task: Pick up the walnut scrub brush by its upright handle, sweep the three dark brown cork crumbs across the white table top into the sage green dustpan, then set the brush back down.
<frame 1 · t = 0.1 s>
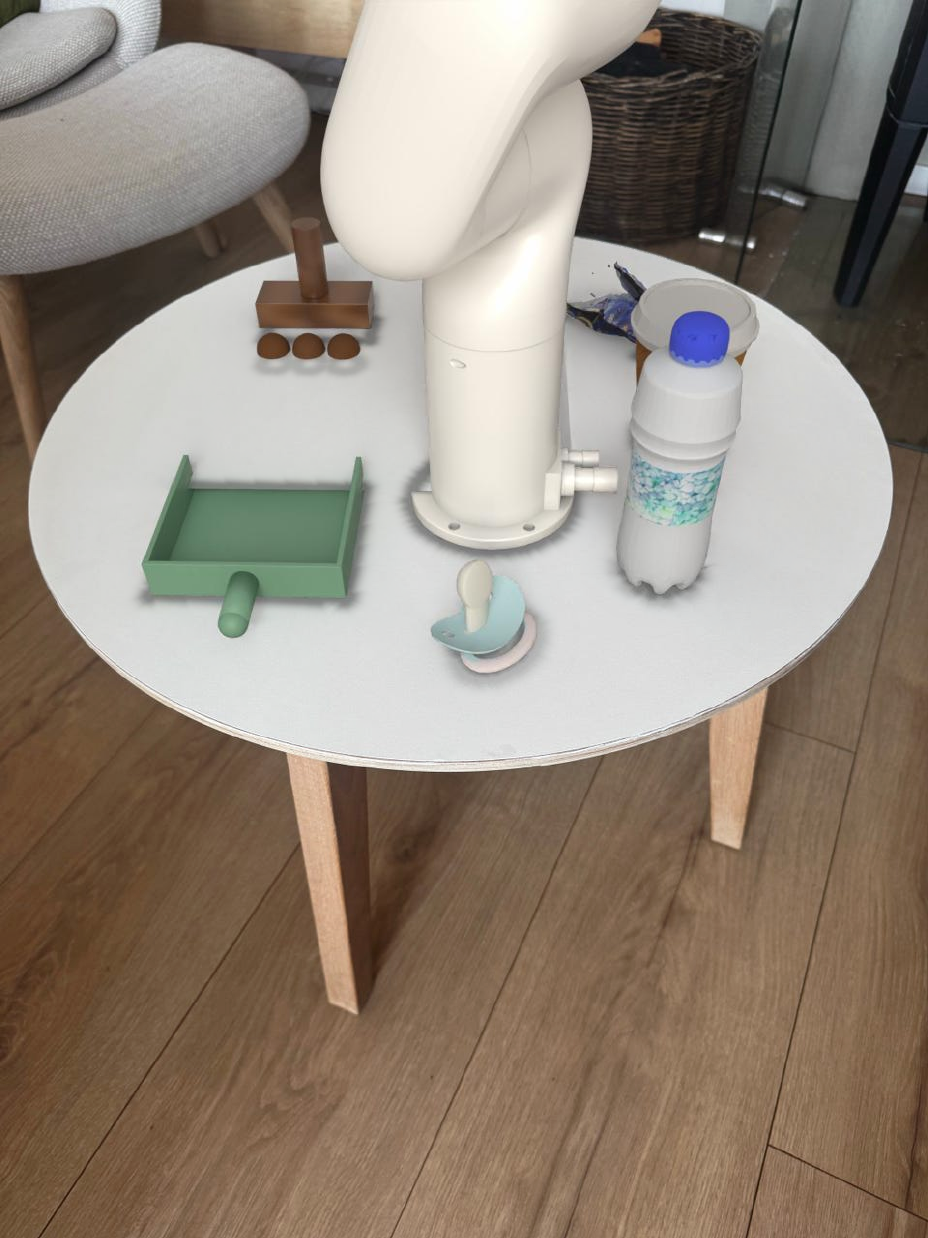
disposable coffee cup: (674, 440, 82), on the table
brush: (319, 330, 95), on the table
dustpan: (264, 538, 74), on the table
crumb a: (343, 350, 90), point 1 cm above the table
crumb c: (273, 349, 90), point 1 cm above the table
crumb b: (308, 349, 90), point 1 cm above the table
pacifier: (488, 641, 67), on the table
snack package: (611, 328, 95), on the table
bottle: (657, 573, 71), on the table
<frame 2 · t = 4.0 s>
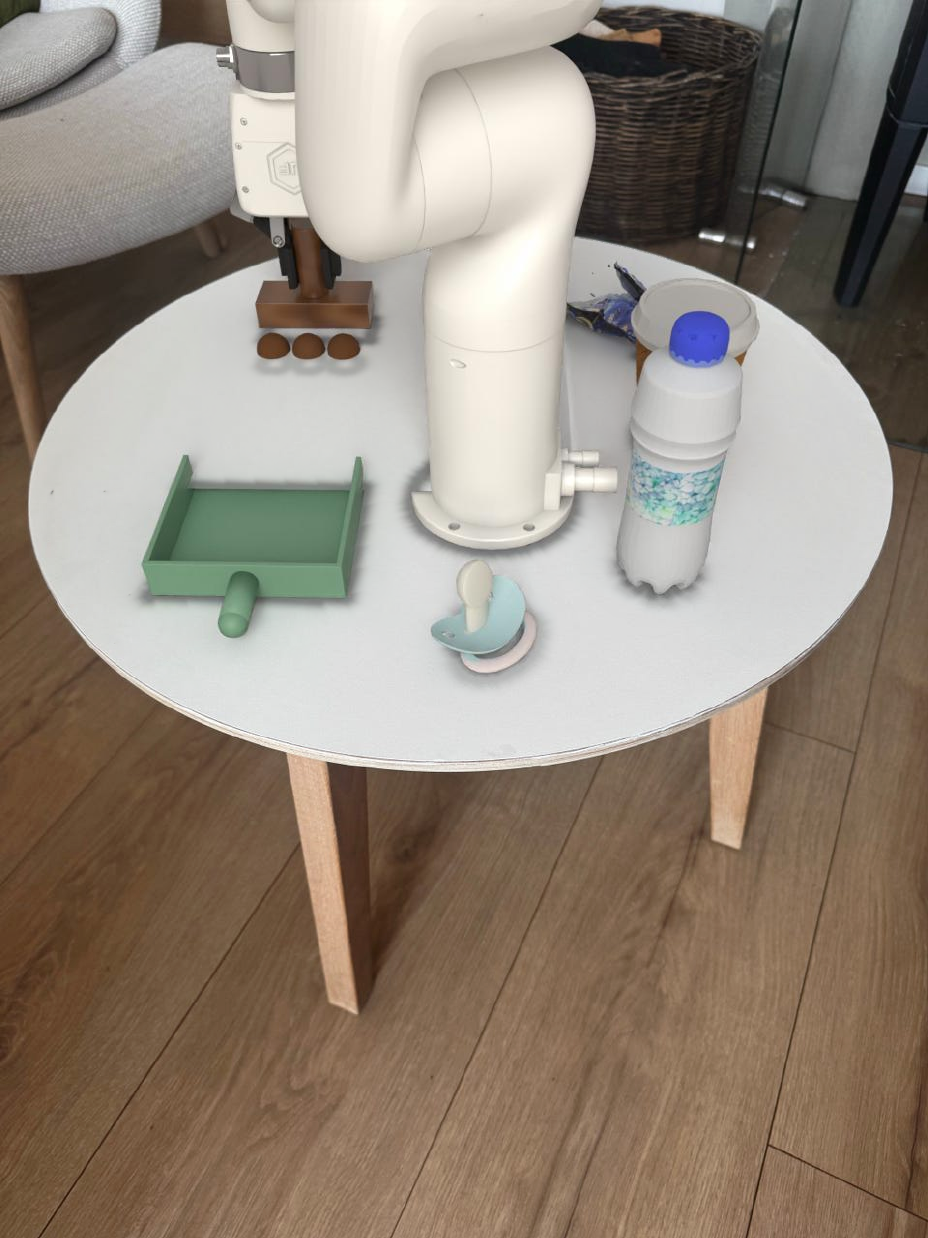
hand: (313, 280, 91), 5 cm above the table, tool pointing down, fingers closed on brush, 2 cm apart
brush: (319, 330, 95), on the table, touching gripper
everything else where it was.
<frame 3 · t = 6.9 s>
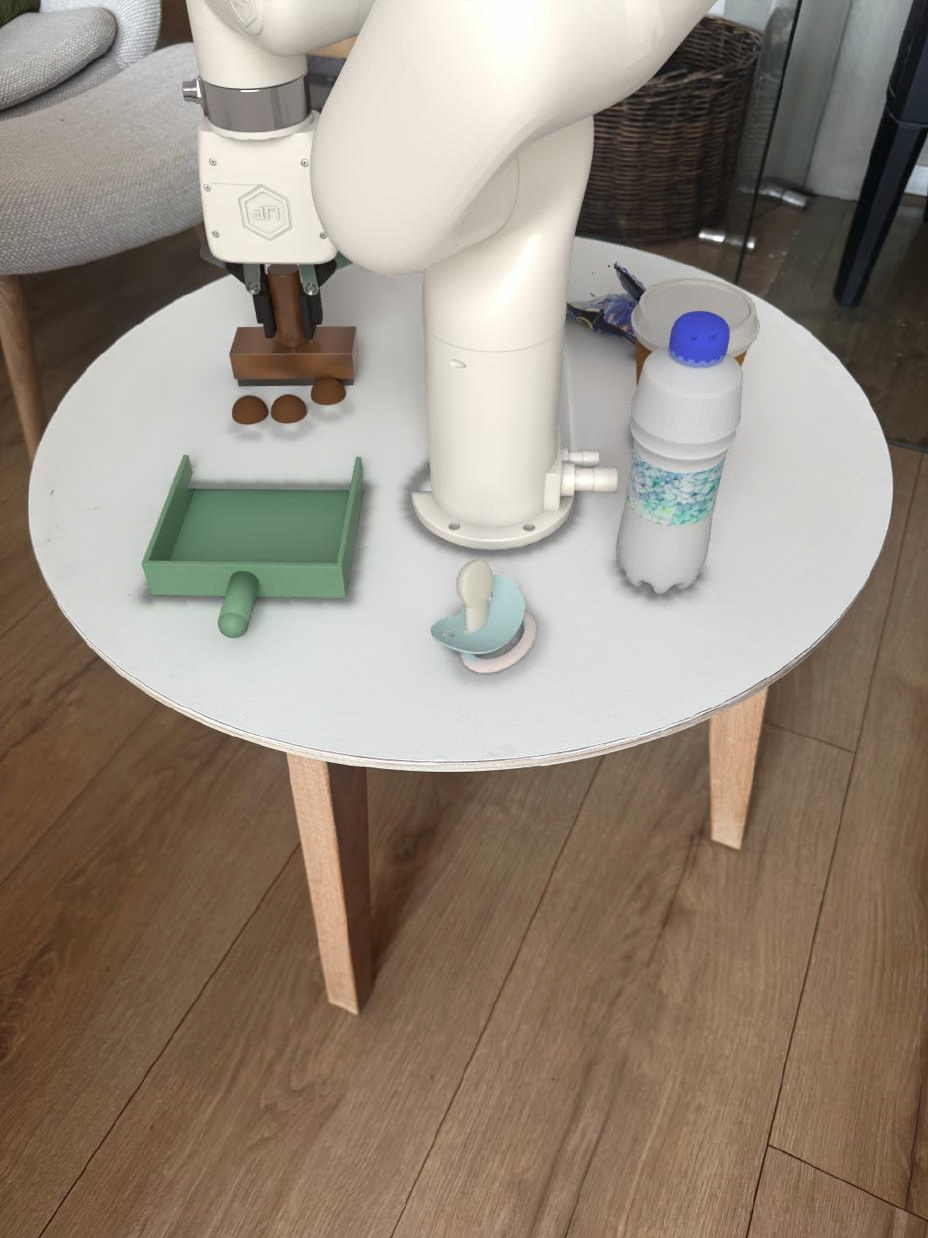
hand: (291, 328, 84), 6 cm above the table, tool pointing down, fingers closed on brush, 2 cm apart
brush: (299, 379, 88), point 1 cm above the table, touching crumb a, gripper
crumb a: (328, 395, 85), point 1 cm above the table, tilted 164°, touching brush
crumb c: (250, 413, 83), point 1 cm above the table, tilted 25°
crumb b: (289, 412, 83), point 1 cm above the table, tilted 9°
everything else where it was.
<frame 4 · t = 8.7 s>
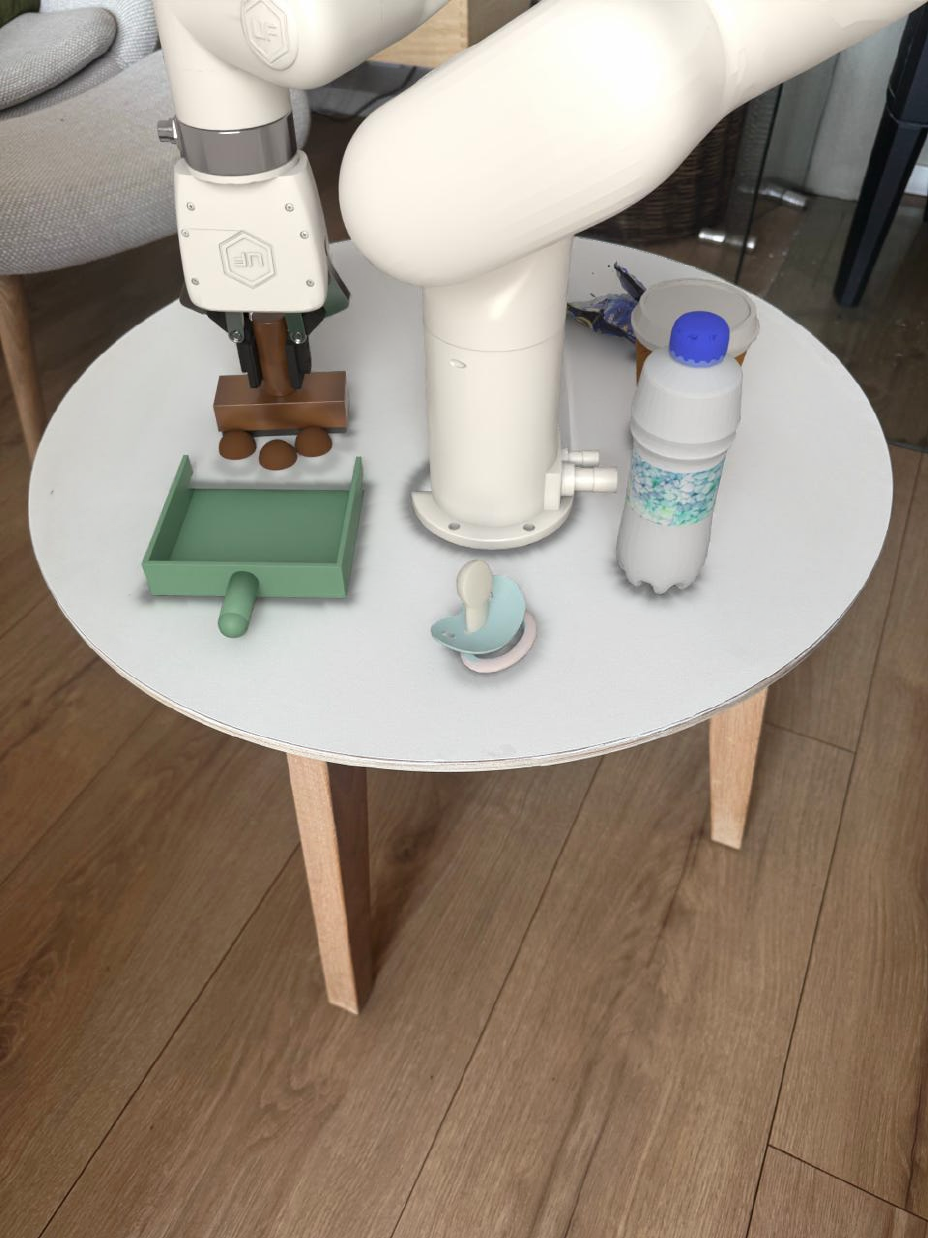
hand: (278, 377, 79), 6 cm above the table, tool pointing down, fingers closed on brush, 2 cm apart
brush: (287, 428, 83), point 1 cm above the table, touching crumb c, gripper
crumb a: (313, 445, 80), point 1 cm above the table, tilted 27°
crumb c: (237, 448, 80), point 1 cm above the table, tilted 151°, touching brush
crumb b: (278, 458, 79), point 1 cm above the table, tilted 128°
everything else where it was.
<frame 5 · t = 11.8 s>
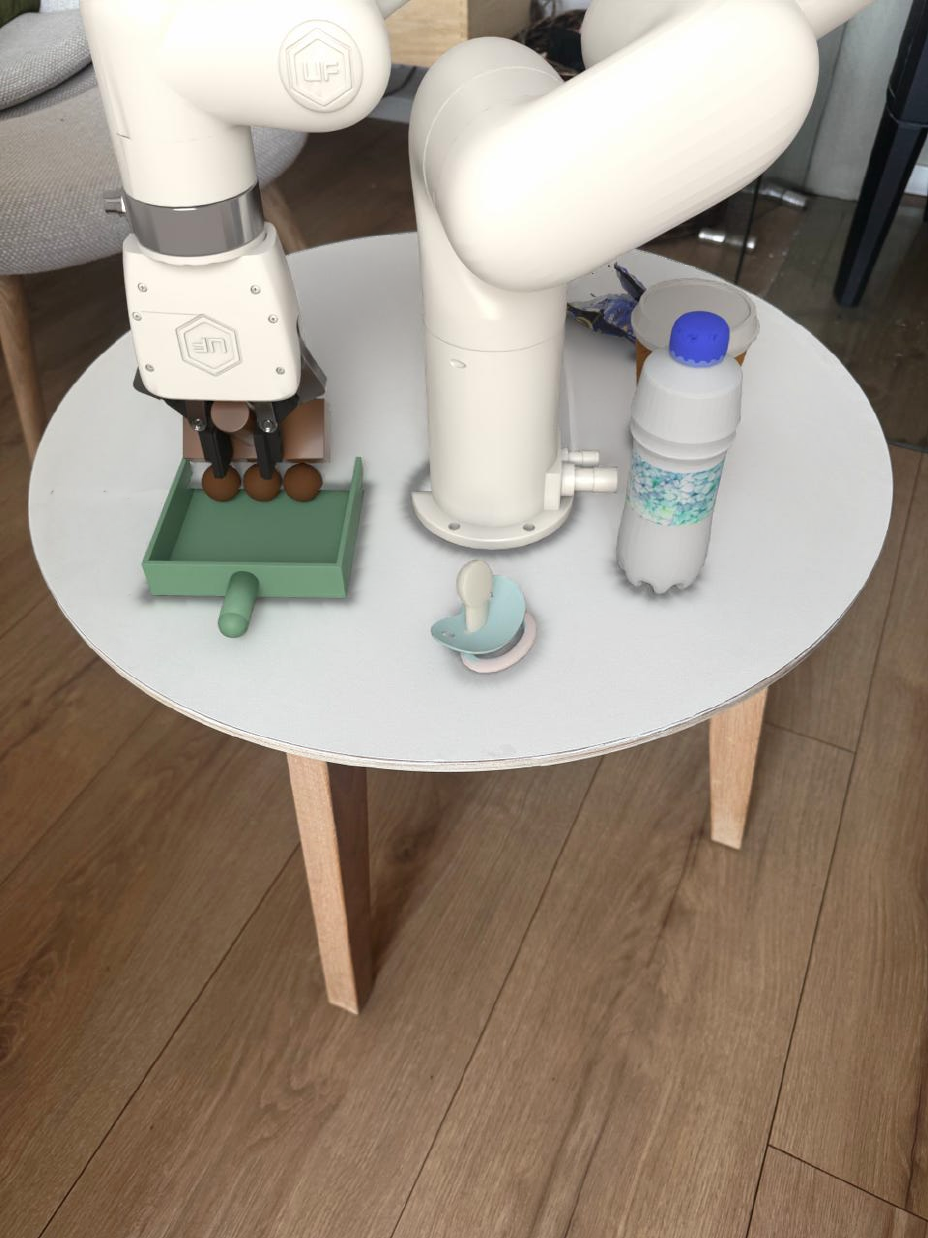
hand: (247, 465, 71), 6 cm above the table, tool pointing down, fingers closed on brush, 2 cm apart
brush: (265, 436, 76), point 4 cm above the table, tilted 46°, touching crumb a, crumb b, crumb c, gripper
crumb a: (302, 482, 76), point 2 cm above the table, tilted 165°, touching brush, dustpan
crumb c: (221, 482, 76), point 2 cm above the table, tilted 12°, touching brush, dustpan
crumb b: (262, 482, 76), point 2 cm above the table, touching brush, dustpan
everything else where it was.
when the fingers open (4 cm above the table, at t = 19.6 s): brush stays where it is and tips over, point 2 cm above the table.
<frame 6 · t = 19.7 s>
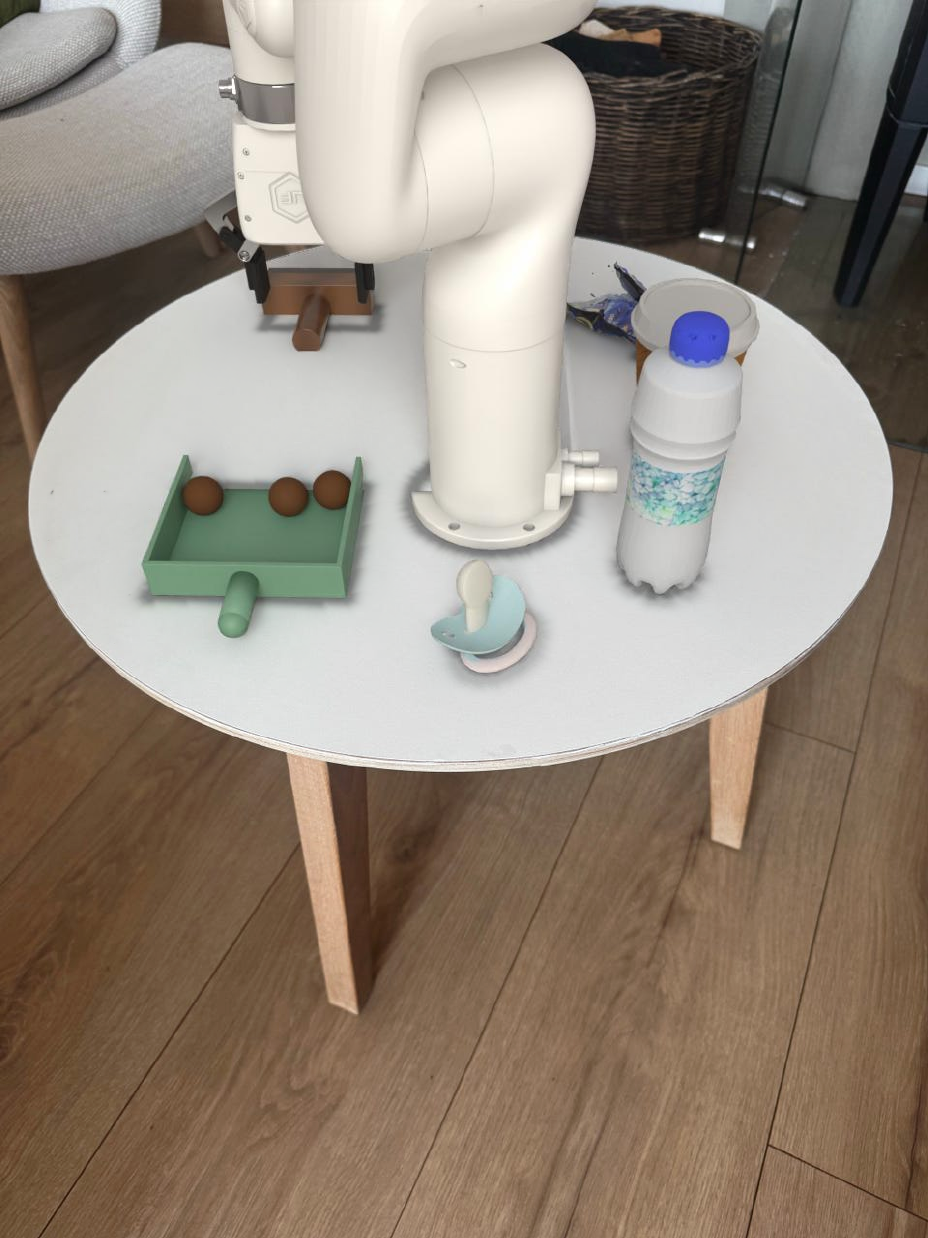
hand: (313, 296, 91), 4 cm above the table, tool pointing down, fingers open, 8 cm apart
brush: (322, 286, 97), point 2 cm above the table, tilted 89°
crumb a: (332, 490, 76), point 2 cm above the table, tilted 78°, touching dustpan
crumb c: (203, 495, 75), point 2 cm above the table, tilted 79°, touching dustpan
crumb b: (288, 496, 75), point 2 cm above the table, tilted 108°, touching dustpan
everything else where it was.
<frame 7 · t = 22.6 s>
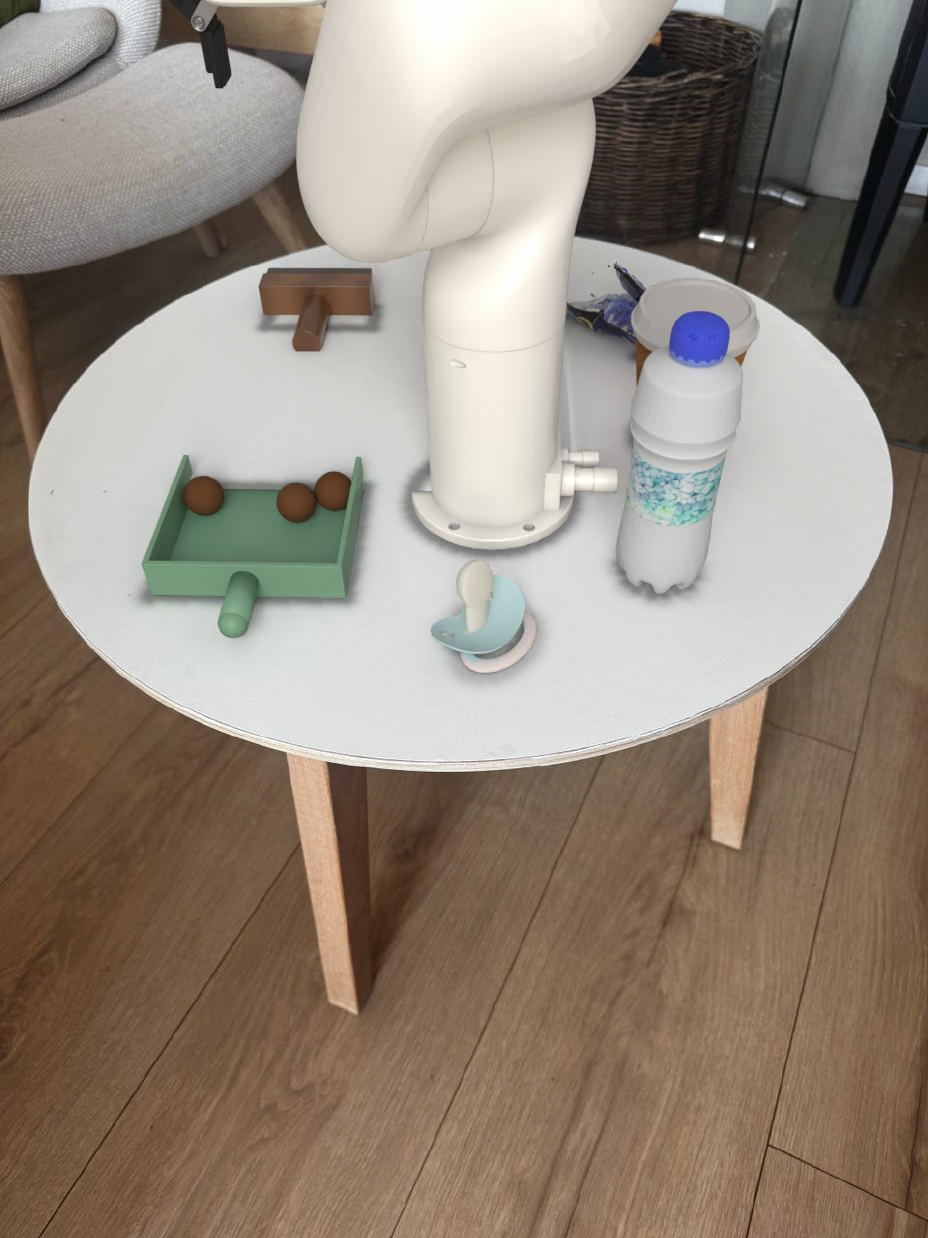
hand: (284, 82, 78), 22 cm above the table, tool pointing down, fingers open, 9 cm apart
crumb a: (334, 491, 75), point 2 cm above the table, tilted 73°, touching dustpan
crumb b: (296, 502, 75), point 2 cm above the table, tilted 145°, touching dustpan
everything else where it was.
at the end: crumb a inside the target area in the dustpan (6.4 cm from its centre), point 1.6 cm above the dustpan's base; crumb b inside the target area in the dustpan (3.4 cm from its centre), point 1.6 cm above the dustpan's base; crumb c inside the target area in the dustpan (5.9 cm from its centre), point 1.6 cm above the dustpan's base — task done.
